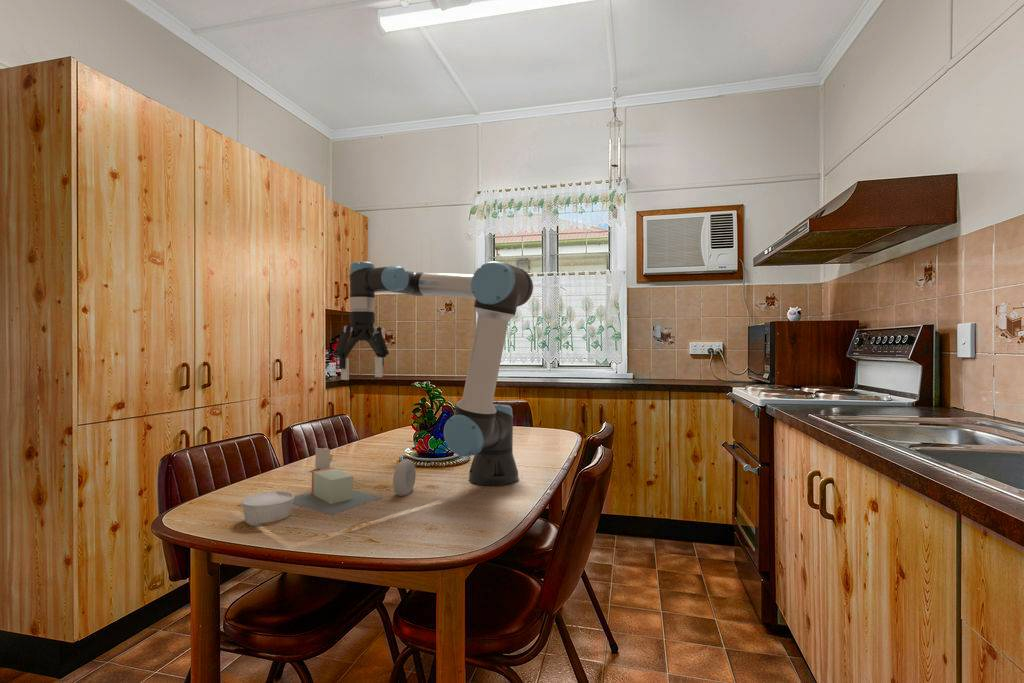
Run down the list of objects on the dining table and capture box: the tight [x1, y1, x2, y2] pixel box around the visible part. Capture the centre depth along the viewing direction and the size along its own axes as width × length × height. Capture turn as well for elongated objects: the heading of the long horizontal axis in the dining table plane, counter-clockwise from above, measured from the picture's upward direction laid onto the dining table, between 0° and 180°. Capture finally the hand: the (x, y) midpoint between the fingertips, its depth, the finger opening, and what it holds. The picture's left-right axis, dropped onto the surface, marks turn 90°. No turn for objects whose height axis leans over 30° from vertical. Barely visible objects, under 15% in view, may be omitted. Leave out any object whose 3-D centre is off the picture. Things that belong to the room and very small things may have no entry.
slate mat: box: [293, 489, 383, 516], centre depth 130 cm, size 20×16×1 cm
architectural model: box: [314, 447, 340, 470], centre depth 164 cm, size 3×7×7 cm, turn 72°
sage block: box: [311, 467, 354, 504], centre depth 132 cm, size 6×6×12 cm
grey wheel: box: [392, 458, 417, 497], centre depth 135 cm, size 10×4×10 cm, turn 168°
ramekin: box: [241, 490, 296, 528], centre depth 117 cm, size 11×11×5 cm
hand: (362, 378), depth 157 cm, fingers open, 13 cm apart
